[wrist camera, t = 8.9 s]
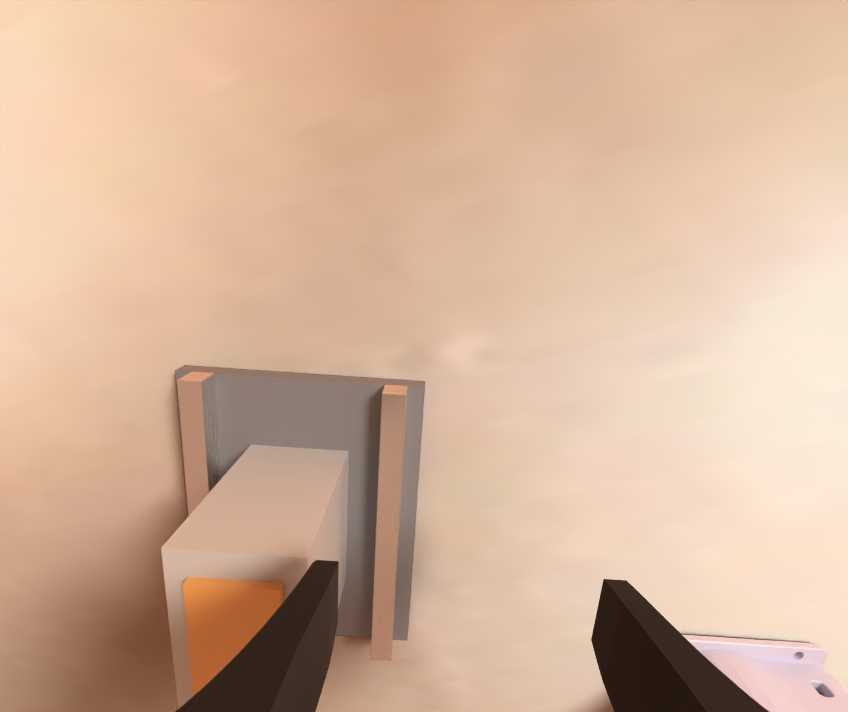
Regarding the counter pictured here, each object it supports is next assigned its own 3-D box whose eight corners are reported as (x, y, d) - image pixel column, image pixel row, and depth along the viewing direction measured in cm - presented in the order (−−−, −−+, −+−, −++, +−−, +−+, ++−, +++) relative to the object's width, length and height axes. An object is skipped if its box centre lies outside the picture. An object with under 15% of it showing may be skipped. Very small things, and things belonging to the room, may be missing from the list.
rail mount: (425, 381, 20) (424, 396, 18) (408, 627, 24) (405, 661, 22) (184, 365, 20) (158, 378, 18) (204, 613, 24) (184, 646, 22)
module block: (348, 451, 20) (304, 564, 13) (346, 577, 22) (305, 737, 15) (251, 444, 20) (155, 554, 13) (256, 571, 22) (174, 728, 15)
